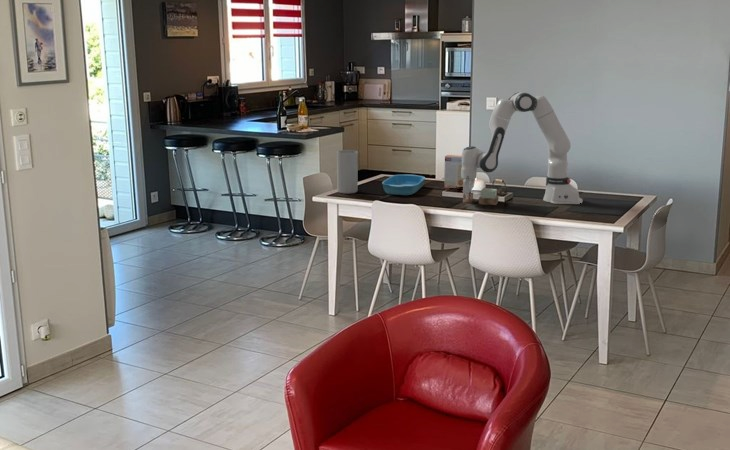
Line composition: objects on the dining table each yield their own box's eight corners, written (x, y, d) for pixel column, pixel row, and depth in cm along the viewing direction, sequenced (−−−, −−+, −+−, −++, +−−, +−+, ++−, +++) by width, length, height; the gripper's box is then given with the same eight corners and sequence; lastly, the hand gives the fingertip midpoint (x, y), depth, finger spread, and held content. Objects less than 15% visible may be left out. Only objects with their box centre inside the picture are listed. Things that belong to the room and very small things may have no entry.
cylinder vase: (360, 193, 490) (360, 152, 484) (340, 194, 486) (340, 153, 480) (353, 189, 502) (353, 149, 495) (334, 190, 498) (334, 150, 491)
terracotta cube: (472, 200, 469) (473, 192, 468) (471, 202, 464) (471, 194, 463) (464, 200, 470) (464, 192, 469) (462, 202, 465) (463, 193, 464)
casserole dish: (413, 198, 478) (413, 186, 476) (377, 195, 485) (378, 183, 483) (428, 186, 512) (428, 175, 510) (394, 184, 519) (395, 173, 517)
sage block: (496, 195, 466) (496, 189, 465) (494, 198, 458) (494, 191, 457) (482, 194, 468) (483, 188, 467) (480, 197, 461) (480, 190, 460)
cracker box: (468, 188, 503) (469, 155, 498) (465, 190, 498) (466, 157, 493) (446, 186, 509) (447, 154, 504) (443, 188, 503) (444, 155, 498)
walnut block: (498, 202, 468) (498, 195, 467) (496, 205, 458) (496, 199, 457) (481, 201, 470) (481, 194, 469) (478, 204, 461) (478, 197, 460)
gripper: (471, 178, 453) (470, 202, 456) (476, 171, 472) (475, 194, 475) (460, 177, 454) (459, 201, 458) (466, 171, 473) (465, 194, 477)
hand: (468, 198), depth 467 cm, fingers closed on terracotta cube, 5 cm apart
